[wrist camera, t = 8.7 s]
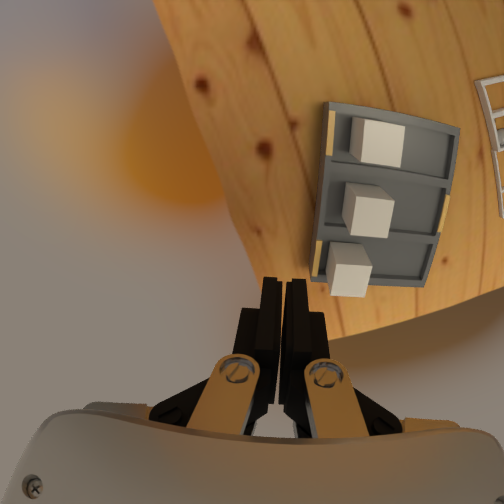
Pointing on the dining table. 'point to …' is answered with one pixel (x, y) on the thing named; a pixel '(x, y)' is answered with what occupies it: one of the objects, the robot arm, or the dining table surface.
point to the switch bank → (395, 185)
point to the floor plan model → (493, 130)
